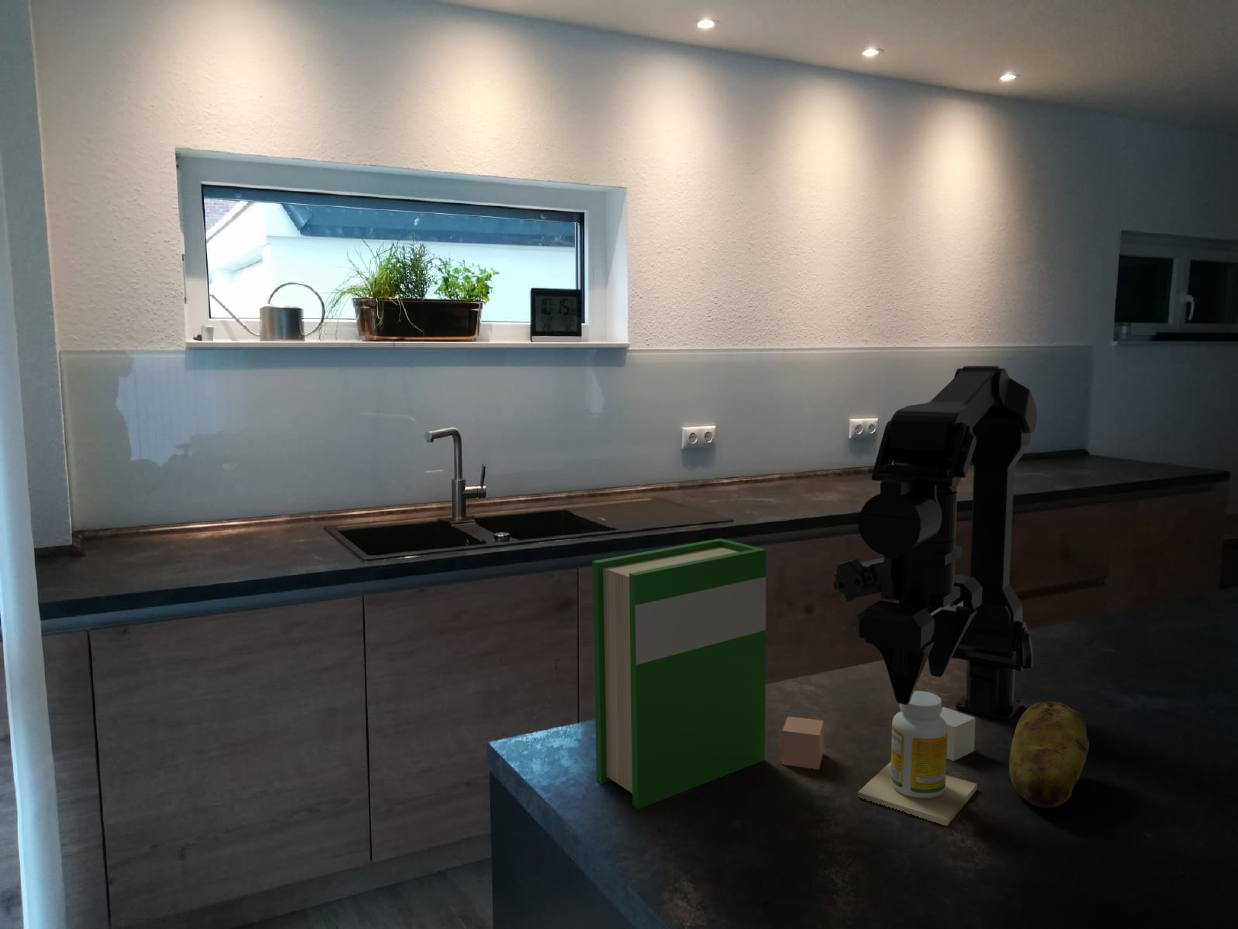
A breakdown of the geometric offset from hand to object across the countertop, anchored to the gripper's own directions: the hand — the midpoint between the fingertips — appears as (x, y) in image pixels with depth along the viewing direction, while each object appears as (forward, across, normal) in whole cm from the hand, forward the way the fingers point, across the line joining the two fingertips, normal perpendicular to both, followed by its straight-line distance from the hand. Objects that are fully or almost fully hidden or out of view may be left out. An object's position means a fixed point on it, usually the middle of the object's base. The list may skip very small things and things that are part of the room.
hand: (920, 689), depth 90 cm
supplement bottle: (+11, 0, 0) cm, 11 cm away
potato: (+11, -9, +10) cm, 18 cm away
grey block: (+11, -12, -1) cm, 17 cm away
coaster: (+11, 0, 0) cm, 11 cm away
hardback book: (+12, +10, -22) cm, 27 cm away
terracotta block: (+11, 0, -13) cm, 17 cm away
